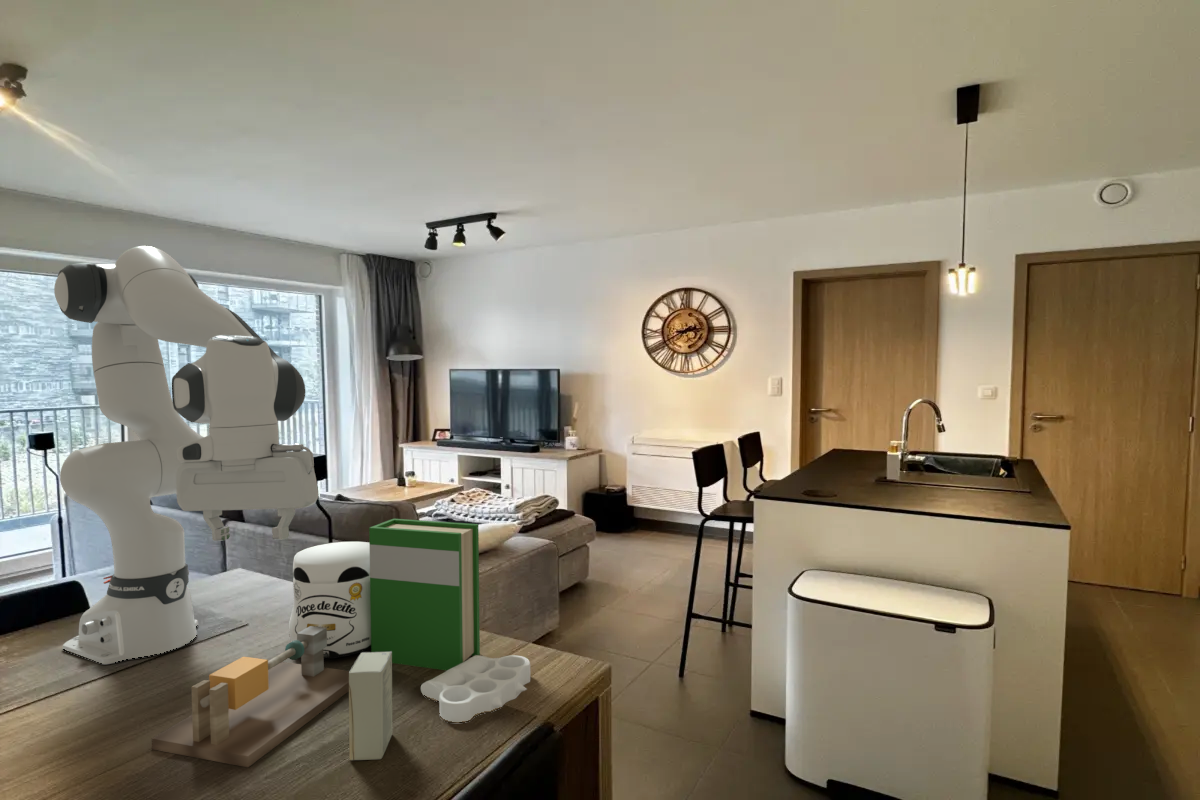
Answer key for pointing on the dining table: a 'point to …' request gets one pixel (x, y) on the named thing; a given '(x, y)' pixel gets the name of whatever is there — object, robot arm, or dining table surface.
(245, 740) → the board
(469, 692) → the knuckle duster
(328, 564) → the milk container
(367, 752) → the skincare box
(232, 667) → the marker sleeve
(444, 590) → the hardback book
